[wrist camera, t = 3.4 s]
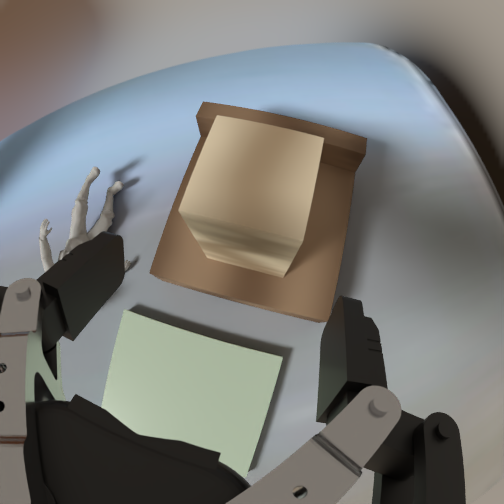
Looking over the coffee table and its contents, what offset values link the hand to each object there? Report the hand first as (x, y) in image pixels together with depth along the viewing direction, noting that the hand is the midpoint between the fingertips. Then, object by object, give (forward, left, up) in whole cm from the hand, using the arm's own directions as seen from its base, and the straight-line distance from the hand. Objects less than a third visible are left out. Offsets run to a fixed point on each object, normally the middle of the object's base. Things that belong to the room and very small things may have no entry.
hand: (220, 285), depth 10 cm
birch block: (0, +5, -8) cm, 10 cm away
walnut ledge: (0, +6, -11) cm, 13 cm away
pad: (-2, -8, -11) cm, 14 cm away
